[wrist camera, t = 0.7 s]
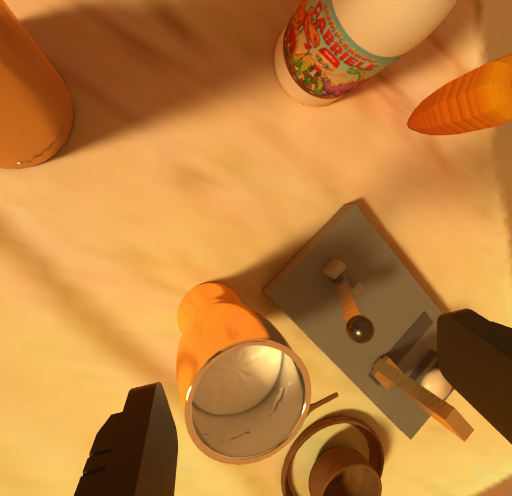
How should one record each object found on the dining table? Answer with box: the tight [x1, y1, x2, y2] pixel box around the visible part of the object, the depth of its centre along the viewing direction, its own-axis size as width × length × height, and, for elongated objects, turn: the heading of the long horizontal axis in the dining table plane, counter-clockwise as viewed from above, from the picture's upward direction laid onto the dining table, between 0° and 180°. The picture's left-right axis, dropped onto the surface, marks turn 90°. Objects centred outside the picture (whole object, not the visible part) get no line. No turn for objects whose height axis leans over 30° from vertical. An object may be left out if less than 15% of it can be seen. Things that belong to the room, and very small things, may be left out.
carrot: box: [407, 54, 512, 135], centre depth 27 cm, size 5×5×15 cm
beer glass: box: [176, 283, 311, 465], centre depth 24 cm, size 7×7×15 cm
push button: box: [419, 367, 452, 400], centre depth 35 cm, size 3×3×1 cm
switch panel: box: [262, 204, 454, 439], centre depth 34 cm, size 24×12×4 cm, turn 44°
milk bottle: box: [274, 0, 458, 107], centre depth 21 cm, size 8×8×20 cm
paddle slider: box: [370, 355, 474, 442], centre depth 30 cm, size 3×2×9 cm
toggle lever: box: [331, 273, 375, 343], centre depth 27 cm, size 2×2×9 cm
